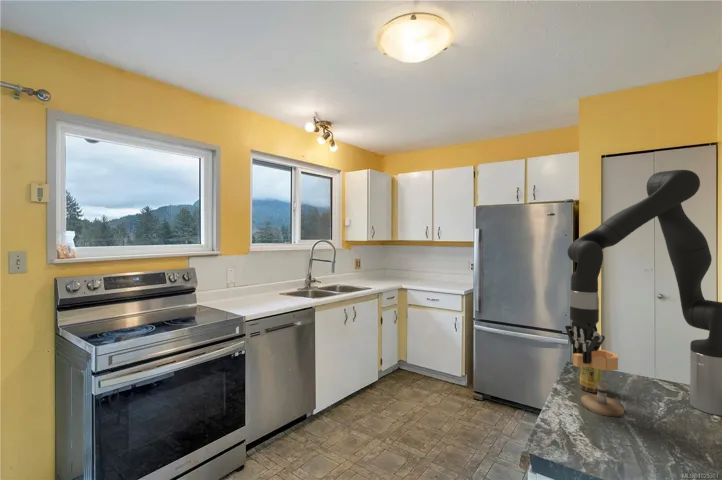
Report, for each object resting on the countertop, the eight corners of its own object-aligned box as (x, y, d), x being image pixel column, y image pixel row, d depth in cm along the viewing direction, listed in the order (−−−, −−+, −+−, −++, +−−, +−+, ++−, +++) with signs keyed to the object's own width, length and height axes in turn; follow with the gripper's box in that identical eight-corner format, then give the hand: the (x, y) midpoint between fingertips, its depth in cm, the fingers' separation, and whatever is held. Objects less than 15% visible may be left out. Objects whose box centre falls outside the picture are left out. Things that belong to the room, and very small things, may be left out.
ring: (600, 358, 114) (600, 348, 114) (625, 369, 105) (625, 357, 105) (564, 360, 112) (564, 349, 112) (586, 371, 103) (586, 359, 103)
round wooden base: (603, 398, 115) (603, 373, 115) (633, 414, 105) (633, 387, 105) (572, 400, 114) (573, 375, 114) (600, 417, 103) (600, 390, 103)
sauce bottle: (575, 387, 124) (575, 331, 124) (588, 384, 126) (588, 329, 125) (592, 395, 118) (592, 336, 117) (606, 392, 119) (606, 334, 119)
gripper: (614, 309, 102) (613, 369, 102) (578, 301, 115) (577, 353, 115) (591, 310, 100) (590, 371, 101) (557, 301, 114) (556, 355, 114)
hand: (583, 361), depth 108 cm, fingers closed on ring
